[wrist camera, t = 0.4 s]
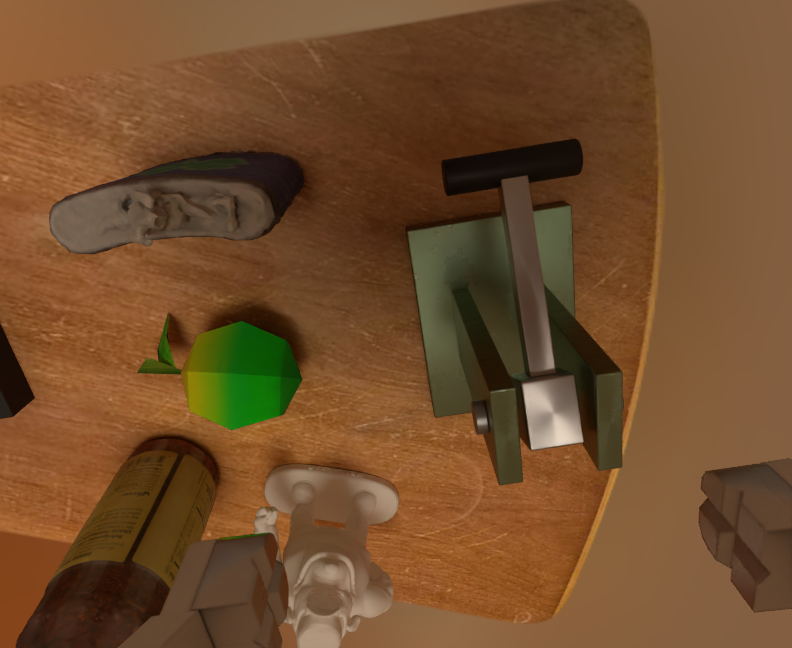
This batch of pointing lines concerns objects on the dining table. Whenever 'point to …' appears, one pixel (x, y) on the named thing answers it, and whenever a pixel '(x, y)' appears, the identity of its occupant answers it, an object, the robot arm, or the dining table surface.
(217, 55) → the dining table surface
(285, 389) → the apple
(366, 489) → the figurine
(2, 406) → the control block
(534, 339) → the lever
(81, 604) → the sauce bottle
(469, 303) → the bracket
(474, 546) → the dining table surface
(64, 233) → the eggplant half
